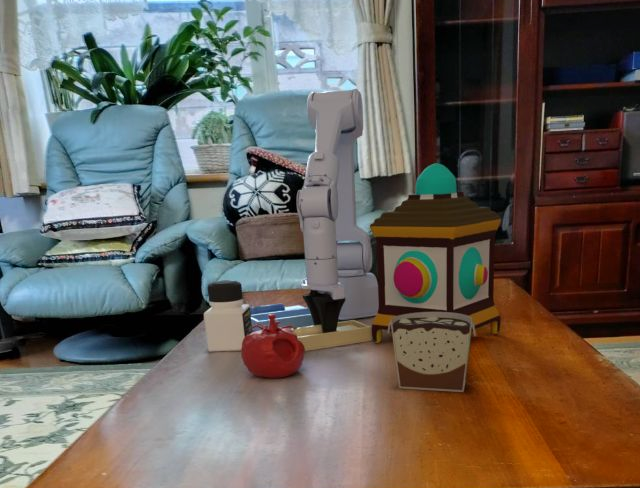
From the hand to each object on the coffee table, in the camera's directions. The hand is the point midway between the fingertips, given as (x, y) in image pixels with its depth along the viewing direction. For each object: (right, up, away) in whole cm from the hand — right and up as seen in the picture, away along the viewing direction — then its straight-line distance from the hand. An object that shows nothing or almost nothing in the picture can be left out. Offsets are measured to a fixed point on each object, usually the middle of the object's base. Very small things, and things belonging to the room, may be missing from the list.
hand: (325, 333), depth 125 cm
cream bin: (0, -2, +1) cm, 2 cm away
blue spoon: (-12, +7, +24) cm, 28 cm away
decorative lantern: (+20, -1, 0) cm, 20 cm away
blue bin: (-9, +4, +16) cm, 18 cm away
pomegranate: (-7, -9, -17) cm, 21 cm away
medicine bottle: (-18, -3, +1) cm, 18 cm away
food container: (+17, -11, -27) cm, 34 cm away
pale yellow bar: (0, -1, 0) cm, 1 cm away
